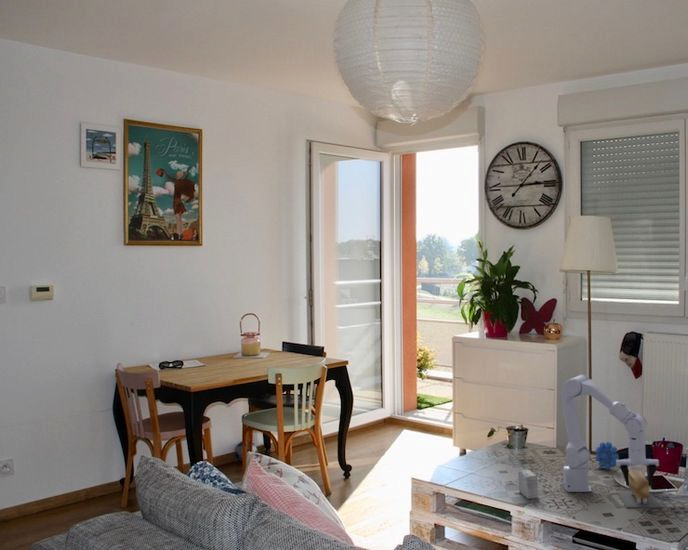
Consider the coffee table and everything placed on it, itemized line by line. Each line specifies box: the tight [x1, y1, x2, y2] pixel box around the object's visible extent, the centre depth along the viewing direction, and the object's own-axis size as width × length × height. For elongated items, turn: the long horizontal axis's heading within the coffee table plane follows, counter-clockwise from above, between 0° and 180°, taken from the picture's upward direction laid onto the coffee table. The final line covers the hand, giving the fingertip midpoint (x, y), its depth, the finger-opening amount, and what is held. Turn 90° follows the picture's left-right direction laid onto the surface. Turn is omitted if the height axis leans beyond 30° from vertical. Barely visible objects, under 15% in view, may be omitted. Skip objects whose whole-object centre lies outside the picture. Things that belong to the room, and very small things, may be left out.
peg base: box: [616, 490, 663, 509], centre depth 270 cm, size 12×16×3 cm
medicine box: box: [518, 469, 539, 500], centre depth 282 cm, size 8×4×9 cm, turn 9°
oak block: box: [627, 470, 650, 498], centre depth 270 cm, size 4×12×6 cm, turn 172°
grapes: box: [594, 441, 620, 471], centre depth 307 cm, size 12×7×12 cm, turn 31°
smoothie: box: [628, 466, 647, 478], centre depth 283 cm, size 6×6×14 cm
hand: (638, 485), depth 270 cm, fingers open, 7 cm apart
